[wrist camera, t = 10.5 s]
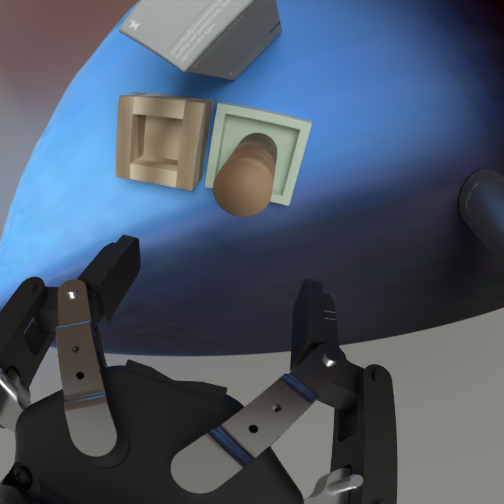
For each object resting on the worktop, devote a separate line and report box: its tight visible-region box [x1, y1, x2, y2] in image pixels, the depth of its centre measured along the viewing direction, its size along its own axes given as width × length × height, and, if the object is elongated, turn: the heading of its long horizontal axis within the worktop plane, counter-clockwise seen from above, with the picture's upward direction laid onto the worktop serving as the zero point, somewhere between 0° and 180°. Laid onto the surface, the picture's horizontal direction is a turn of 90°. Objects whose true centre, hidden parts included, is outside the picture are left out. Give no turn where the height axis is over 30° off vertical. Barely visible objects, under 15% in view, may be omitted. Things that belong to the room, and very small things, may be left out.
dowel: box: [213, 133, 277, 217], centre depth 26 cm, size 4×4×12 cm
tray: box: [205, 101, 312, 206], centre depth 31 cm, size 10×10×2 cm
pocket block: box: [116, 93, 214, 191], centre depth 30 cm, size 10×10×4 cm
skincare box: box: [119, 0, 282, 80], centre depth 18 cm, size 8×7×16 cm
